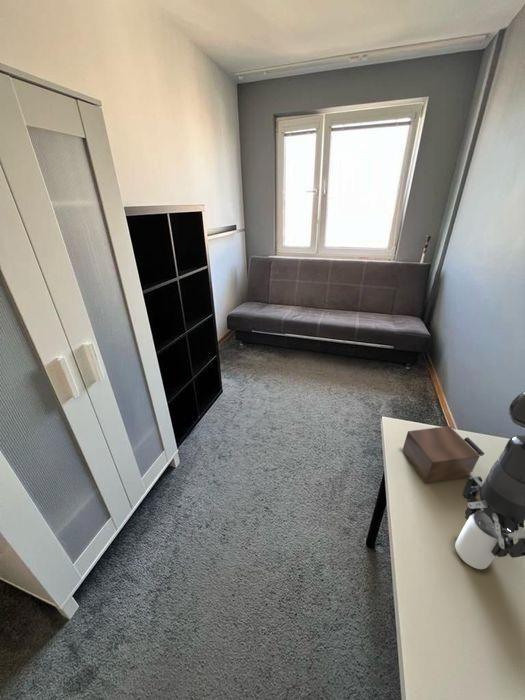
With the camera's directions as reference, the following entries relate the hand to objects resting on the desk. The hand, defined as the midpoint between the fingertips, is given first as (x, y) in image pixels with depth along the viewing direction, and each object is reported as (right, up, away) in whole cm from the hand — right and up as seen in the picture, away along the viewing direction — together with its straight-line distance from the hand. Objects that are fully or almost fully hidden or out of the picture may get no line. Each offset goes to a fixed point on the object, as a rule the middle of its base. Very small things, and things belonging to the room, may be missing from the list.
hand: (482, 534), depth 60 cm
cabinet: (+5, +5, +25) cm, 26 cm away
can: (0, -7, +4) cm, 8 cm away
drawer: (+9, +6, +25) cm, 28 cm away
